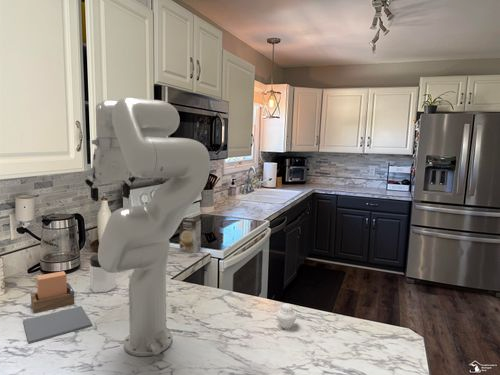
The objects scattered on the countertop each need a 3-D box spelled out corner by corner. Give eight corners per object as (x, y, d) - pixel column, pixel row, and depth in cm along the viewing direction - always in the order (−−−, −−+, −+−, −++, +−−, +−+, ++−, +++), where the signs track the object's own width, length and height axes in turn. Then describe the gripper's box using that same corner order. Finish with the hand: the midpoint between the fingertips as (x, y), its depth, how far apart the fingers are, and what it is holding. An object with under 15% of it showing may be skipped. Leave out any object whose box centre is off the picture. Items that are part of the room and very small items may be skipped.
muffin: (279, 332, 103) (279, 309, 102) (273, 321, 109) (274, 300, 108) (299, 330, 104) (300, 308, 103) (292, 320, 110) (293, 298, 109)
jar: (118, 289, 129) (117, 257, 128) (95, 295, 124) (94, 262, 123) (110, 281, 136) (109, 251, 135) (88, 286, 131) (86, 255, 130)
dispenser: (75, 304, 117) (74, 290, 116) (34, 313, 110) (33, 299, 109) (69, 295, 124) (69, 282, 123) (31, 303, 117) (30, 290, 116)
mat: (92, 325, 104) (92, 324, 104) (28, 343, 94) (28, 341, 94) (81, 307, 115) (81, 305, 115) (23, 322, 105) (23, 320, 105)
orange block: (67, 303, 118) (66, 274, 116) (39, 309, 113) (38, 280, 112) (65, 299, 121) (63, 271, 120) (38, 305, 116) (36, 276, 115)
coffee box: (178, 251, 176) (178, 219, 174) (184, 247, 182) (184, 217, 180) (195, 253, 173) (195, 221, 171) (201, 249, 179) (201, 218, 177)
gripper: (84, 144, 99) (86, 203, 102) (142, 144, 111) (142, 198, 114) (75, 143, 105) (77, 200, 107) (131, 143, 116) (132, 194, 119)
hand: (111, 199), depth 110 cm, fingers open, 9 cm apart
